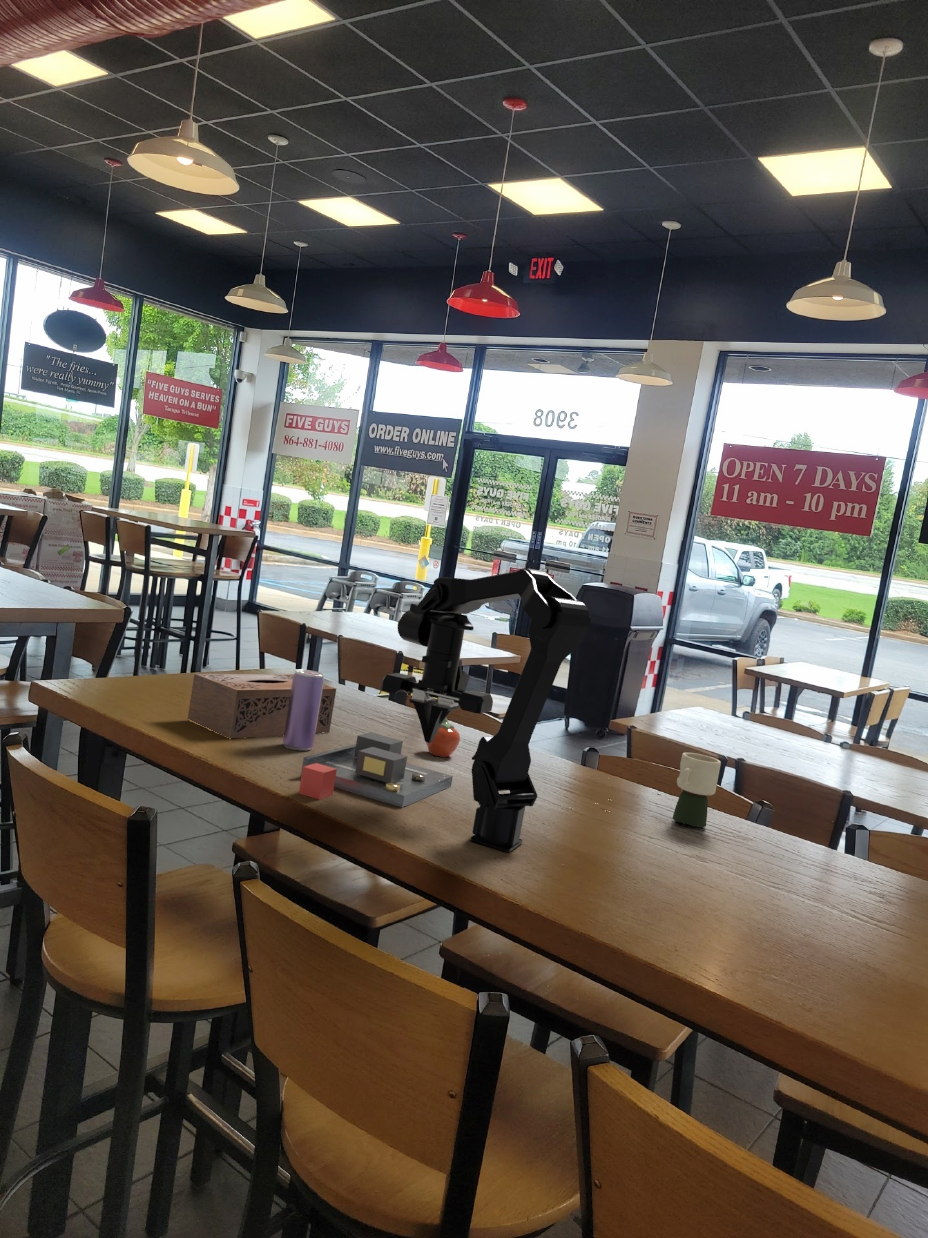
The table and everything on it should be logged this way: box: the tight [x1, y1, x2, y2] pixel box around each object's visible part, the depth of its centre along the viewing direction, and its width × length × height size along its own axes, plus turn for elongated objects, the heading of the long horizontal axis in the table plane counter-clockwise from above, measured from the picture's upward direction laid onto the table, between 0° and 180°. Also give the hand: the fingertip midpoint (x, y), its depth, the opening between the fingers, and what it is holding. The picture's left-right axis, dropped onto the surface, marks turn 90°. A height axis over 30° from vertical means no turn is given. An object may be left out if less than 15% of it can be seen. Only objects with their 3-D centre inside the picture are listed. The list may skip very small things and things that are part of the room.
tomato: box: [425, 717, 461, 758], centre depth 189 cm, size 7×7×8 cm
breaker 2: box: [355, 747, 408, 783], centre depth 155 cm, size 7×5×4 cm
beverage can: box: [282, 669, 325, 752], centre depth 174 cm, size 6×6×15 cm
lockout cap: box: [298, 763, 337, 800], centre depth 146 cm, size 4×4×4 cm
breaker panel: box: [300, 743, 454, 808], centre depth 160 cm, size 20×20×4 cm
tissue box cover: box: [187, 673, 337, 739], centre depth 186 cm, size 26×14×10 cm, turn 140°
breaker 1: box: [354, 732, 404, 757], centre depth 167 cm, size 7×5×4 cm
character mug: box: [672, 752, 722, 828], centre depth 167 cm, size 11×7×13 cm, turn 138°
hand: (428, 742), depth 151 cm, fingers closed
